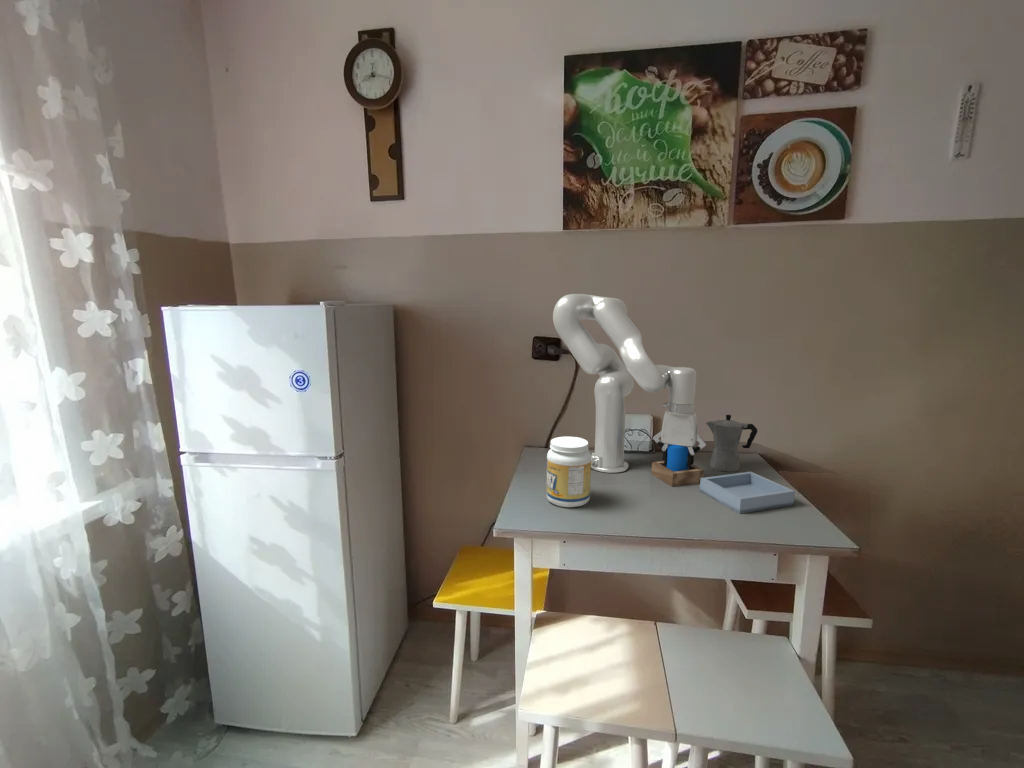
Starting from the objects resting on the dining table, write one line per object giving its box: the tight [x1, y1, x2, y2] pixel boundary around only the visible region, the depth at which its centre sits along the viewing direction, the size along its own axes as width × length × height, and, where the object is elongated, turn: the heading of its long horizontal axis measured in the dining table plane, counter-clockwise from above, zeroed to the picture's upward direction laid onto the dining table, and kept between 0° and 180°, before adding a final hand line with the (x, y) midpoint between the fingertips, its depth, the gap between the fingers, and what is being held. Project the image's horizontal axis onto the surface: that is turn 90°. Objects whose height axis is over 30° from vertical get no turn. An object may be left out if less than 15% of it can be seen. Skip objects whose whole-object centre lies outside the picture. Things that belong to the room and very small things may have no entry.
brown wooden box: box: [651, 460, 705, 487], centre depth 157 cm, size 11×11×4 cm
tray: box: [699, 471, 796, 514], centre depth 142 cm, size 18×16×4 cm
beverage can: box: [666, 444, 689, 472], centre depth 156 cm, size 6×6×12 cm
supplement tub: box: [545, 436, 592, 508], centre depth 139 cm, size 12×12×17 cm
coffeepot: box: [705, 414, 758, 473], centre depth 165 cm, size 15×9×18 cm, turn 67°
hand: (677, 463), depth 156 cm, fingers closed on beverage can, 6 cm apart
